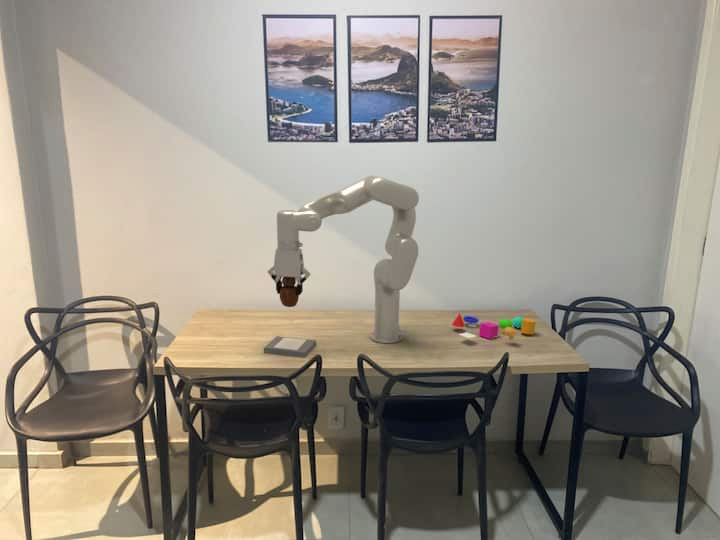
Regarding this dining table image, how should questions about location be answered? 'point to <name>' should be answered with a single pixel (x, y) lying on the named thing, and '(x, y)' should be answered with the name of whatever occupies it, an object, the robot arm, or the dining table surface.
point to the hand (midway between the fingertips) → (289, 293)
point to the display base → (290, 346)
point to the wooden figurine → (289, 292)
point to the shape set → (497, 326)
